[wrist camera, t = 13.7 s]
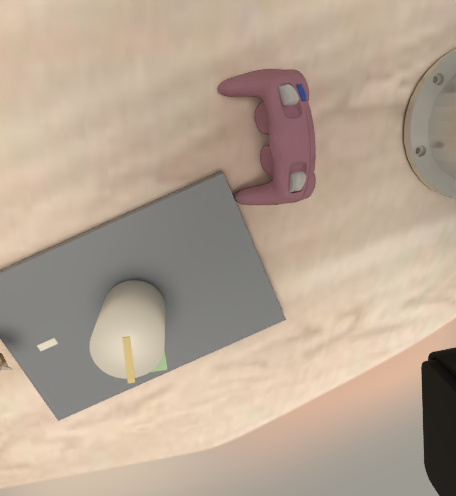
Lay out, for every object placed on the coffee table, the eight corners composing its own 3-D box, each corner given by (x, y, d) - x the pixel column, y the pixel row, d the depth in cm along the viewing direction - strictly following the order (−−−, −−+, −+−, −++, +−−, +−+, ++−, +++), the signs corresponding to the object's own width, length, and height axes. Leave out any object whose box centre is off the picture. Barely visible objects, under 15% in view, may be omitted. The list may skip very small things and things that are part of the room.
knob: (100, 279, 35) (84, 317, 28) (163, 275, 35) (161, 311, 29) (112, 371, 37) (100, 424, 31) (170, 365, 38) (170, 417, 31)
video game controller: (272, 194, 38) (333, 201, 32) (229, 207, 35) (286, 218, 30) (258, 73, 34) (322, 58, 29) (210, 79, 32) (269, 64, 26)
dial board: (221, 170, 35) (223, 173, 33) (281, 312, 39) (286, 319, 38) (-27, 281, 35) (-35, 289, 33) (62, 409, 40) (58, 421, 38)
